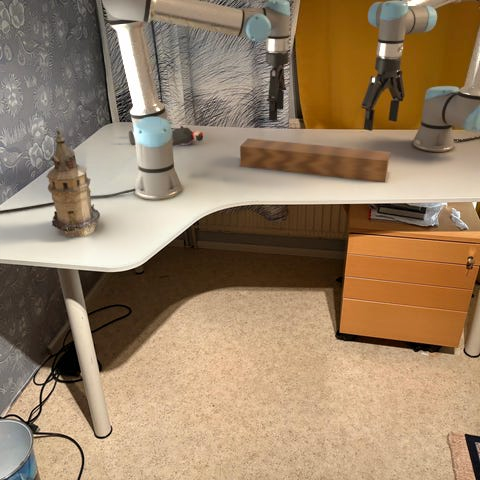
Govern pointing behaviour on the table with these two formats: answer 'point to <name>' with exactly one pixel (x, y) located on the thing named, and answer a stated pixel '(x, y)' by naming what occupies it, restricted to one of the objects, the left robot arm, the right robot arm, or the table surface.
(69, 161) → the miniature building
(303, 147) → the wide beam
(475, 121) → the right robot arm
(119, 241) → the table surface
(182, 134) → the toy
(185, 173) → the table surface
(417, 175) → the table surface
